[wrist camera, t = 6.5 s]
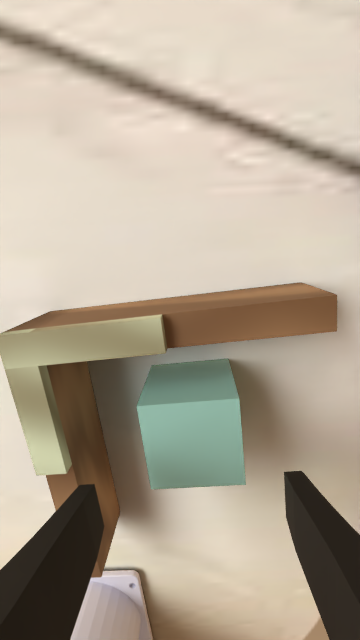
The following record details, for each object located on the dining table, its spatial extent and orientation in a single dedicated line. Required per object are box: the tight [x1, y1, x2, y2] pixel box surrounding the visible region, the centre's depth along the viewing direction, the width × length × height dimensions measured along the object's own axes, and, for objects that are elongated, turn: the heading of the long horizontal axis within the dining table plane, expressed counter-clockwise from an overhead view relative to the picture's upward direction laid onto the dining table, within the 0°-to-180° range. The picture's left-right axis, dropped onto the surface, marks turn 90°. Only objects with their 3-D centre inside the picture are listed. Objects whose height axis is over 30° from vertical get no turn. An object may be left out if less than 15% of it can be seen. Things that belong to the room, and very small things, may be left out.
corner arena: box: [0, 283, 337, 578], centre depth 15 cm, size 14×14×5 cm
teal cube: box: [136, 359, 246, 489], centre depth 15 cm, size 4×4×4 cm
